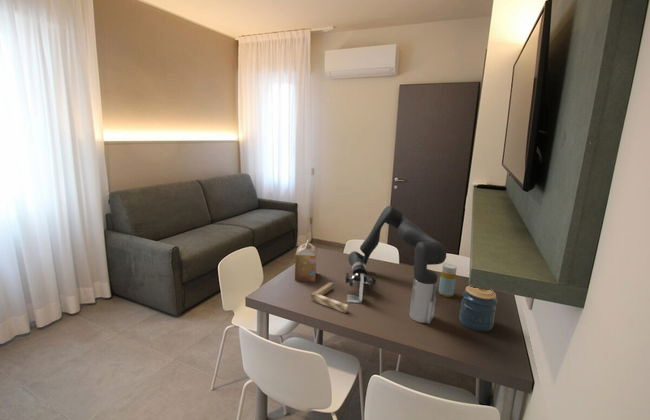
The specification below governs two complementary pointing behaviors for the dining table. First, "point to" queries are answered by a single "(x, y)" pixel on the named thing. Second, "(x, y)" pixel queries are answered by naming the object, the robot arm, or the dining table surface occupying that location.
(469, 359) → the dining table surface
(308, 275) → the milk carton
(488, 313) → the canister
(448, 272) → the bottle
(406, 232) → the robot arm
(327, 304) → the wooden l-shaped corner
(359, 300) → the bracket
